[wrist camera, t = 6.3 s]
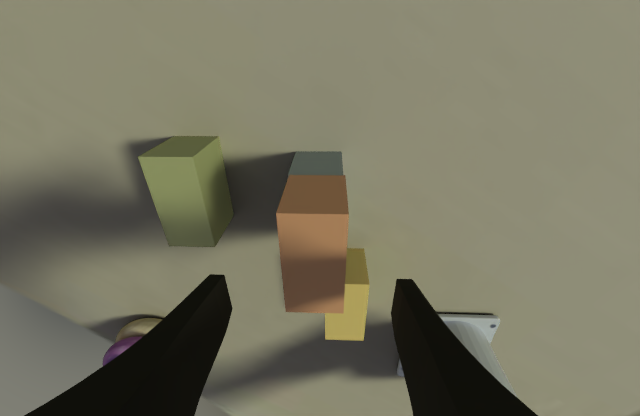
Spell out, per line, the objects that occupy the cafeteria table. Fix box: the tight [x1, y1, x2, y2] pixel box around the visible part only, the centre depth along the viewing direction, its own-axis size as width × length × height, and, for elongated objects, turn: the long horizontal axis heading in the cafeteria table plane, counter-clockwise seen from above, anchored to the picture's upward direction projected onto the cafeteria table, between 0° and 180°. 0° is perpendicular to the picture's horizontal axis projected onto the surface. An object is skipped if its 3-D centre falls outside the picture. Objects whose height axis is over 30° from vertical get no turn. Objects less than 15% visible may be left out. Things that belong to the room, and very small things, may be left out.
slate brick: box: [288, 152, 343, 177], centre depth 18 cm, size 6×3×4 cm, turn 1°
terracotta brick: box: [276, 175, 349, 314], centre depth 15 cm, size 6×3×4 cm, turn 0°
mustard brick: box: [325, 248, 369, 341], centre depth 22 cm, size 6×3×4 cm, turn 1°
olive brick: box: [138, 136, 234, 247], centre depth 18 cm, size 6×3×4 cm, turn 1°
